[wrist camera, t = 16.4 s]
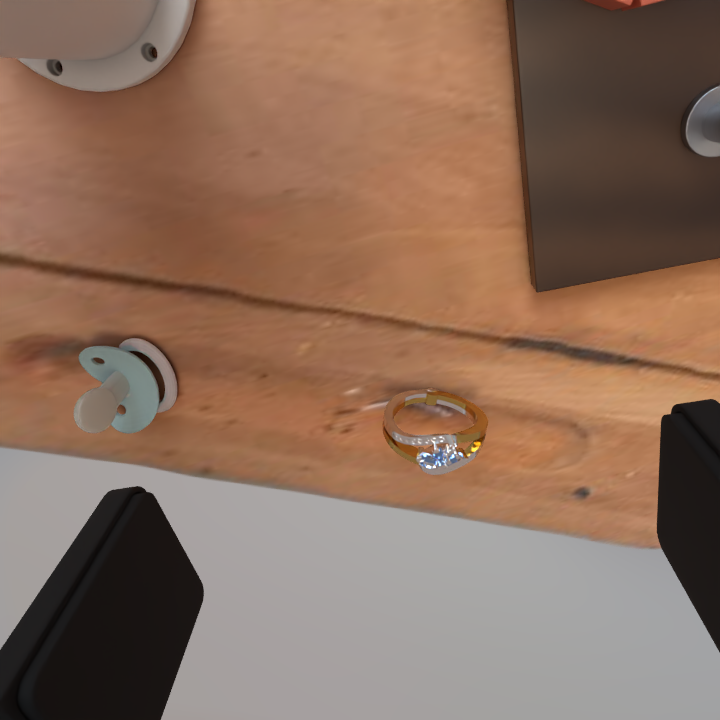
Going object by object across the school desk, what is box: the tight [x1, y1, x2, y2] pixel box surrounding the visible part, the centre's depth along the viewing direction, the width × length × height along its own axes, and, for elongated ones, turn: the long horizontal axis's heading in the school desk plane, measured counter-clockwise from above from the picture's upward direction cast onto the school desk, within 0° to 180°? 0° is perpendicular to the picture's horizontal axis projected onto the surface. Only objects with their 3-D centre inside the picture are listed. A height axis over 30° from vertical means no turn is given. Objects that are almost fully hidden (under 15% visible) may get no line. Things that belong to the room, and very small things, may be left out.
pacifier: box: [74, 338, 177, 433], centre depth 37 cm, size 7×6×6 cm
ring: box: [383, 388, 488, 475], centre depth 36 cm, size 7×3×8 cm, turn 84°
